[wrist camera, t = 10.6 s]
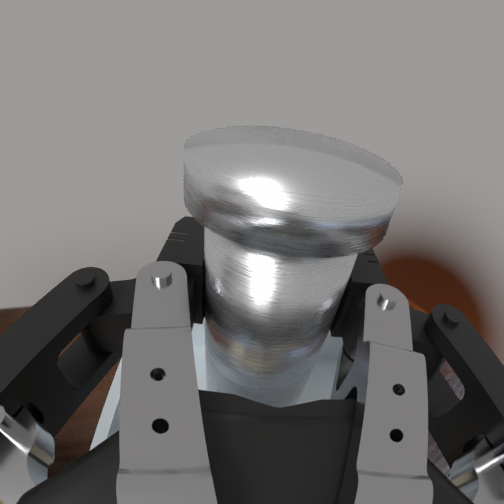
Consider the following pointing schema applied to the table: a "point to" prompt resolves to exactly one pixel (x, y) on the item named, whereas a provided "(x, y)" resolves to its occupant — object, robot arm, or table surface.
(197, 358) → the tray
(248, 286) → the pin
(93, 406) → the table surface
